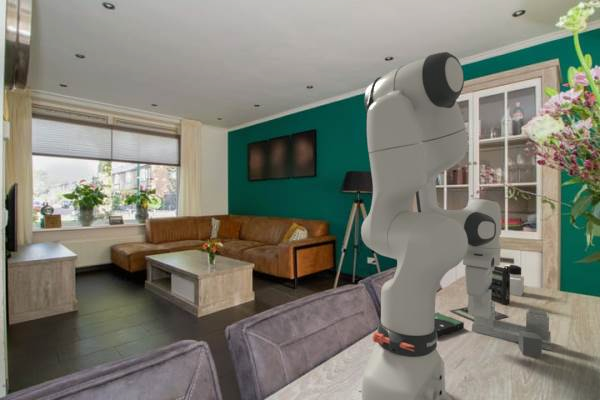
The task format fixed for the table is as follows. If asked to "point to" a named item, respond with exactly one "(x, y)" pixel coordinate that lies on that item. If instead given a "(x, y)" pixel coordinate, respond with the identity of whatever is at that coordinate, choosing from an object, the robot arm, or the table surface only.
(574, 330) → the table surface
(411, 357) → the robot arm
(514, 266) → the medicine bottle
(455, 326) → the disk drive
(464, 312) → the calculator
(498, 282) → the geiger counter
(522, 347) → the block
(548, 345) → the rail
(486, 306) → the block
